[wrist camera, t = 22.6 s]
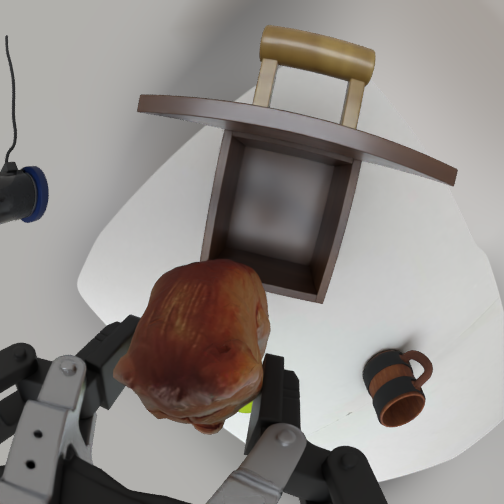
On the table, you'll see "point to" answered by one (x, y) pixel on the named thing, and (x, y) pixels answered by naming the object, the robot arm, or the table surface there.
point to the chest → (280, 211)
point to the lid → (297, 125)
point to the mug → (396, 386)
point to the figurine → (199, 344)
